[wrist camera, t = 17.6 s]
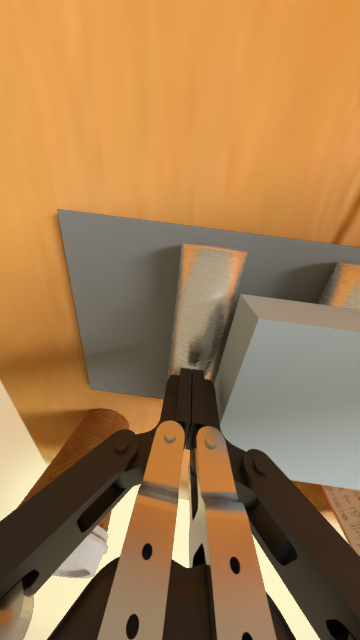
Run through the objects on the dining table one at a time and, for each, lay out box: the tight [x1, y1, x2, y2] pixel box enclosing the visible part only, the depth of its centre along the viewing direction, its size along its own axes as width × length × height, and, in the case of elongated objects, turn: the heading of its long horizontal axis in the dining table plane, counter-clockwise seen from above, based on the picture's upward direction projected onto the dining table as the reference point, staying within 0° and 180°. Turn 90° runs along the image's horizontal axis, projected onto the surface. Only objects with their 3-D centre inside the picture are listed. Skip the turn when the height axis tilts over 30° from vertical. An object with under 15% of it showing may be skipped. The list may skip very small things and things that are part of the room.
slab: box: [214, 294, 360, 490], centre depth 11 cm, size 12×16×3 cm
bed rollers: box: [167, 242, 360, 381], centre depth 14 cm, size 16×14×4 cm
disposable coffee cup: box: [18, 409, 129, 578], centre depth 20 cm, size 10×10×12 cm
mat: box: [57, 209, 360, 399], centre depth 16 cm, size 18×38×1 cm, turn 84°
